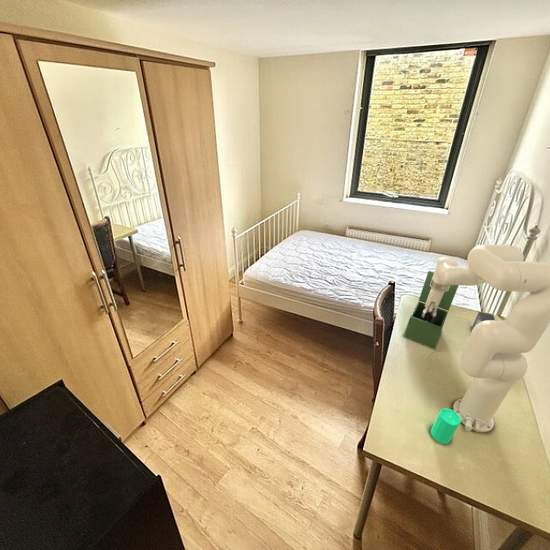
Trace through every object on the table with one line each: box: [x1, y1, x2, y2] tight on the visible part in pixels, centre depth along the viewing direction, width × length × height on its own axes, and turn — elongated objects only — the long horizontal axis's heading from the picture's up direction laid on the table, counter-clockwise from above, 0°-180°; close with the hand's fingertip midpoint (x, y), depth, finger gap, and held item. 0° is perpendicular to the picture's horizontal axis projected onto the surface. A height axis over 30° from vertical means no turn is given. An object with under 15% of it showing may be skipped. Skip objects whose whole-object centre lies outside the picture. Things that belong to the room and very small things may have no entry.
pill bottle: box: [421, 306, 437, 324], centre depth 137 cm, size 6×6×10 cm
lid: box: [418, 270, 460, 312], centre depth 139 cm, size 16×14×1 cm
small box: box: [471, 311, 496, 331], centre depth 140 cm, size 11×6×10 cm, turn 157°
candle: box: [430, 407, 462, 445], centre depth 96 cm, size 6×6×12 cm
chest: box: [403, 300, 449, 350], centre depth 140 cm, size 16×14×12 cm
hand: (428, 316), depth 137 cm, fingers closed on pill bottle, 5 cm apart
